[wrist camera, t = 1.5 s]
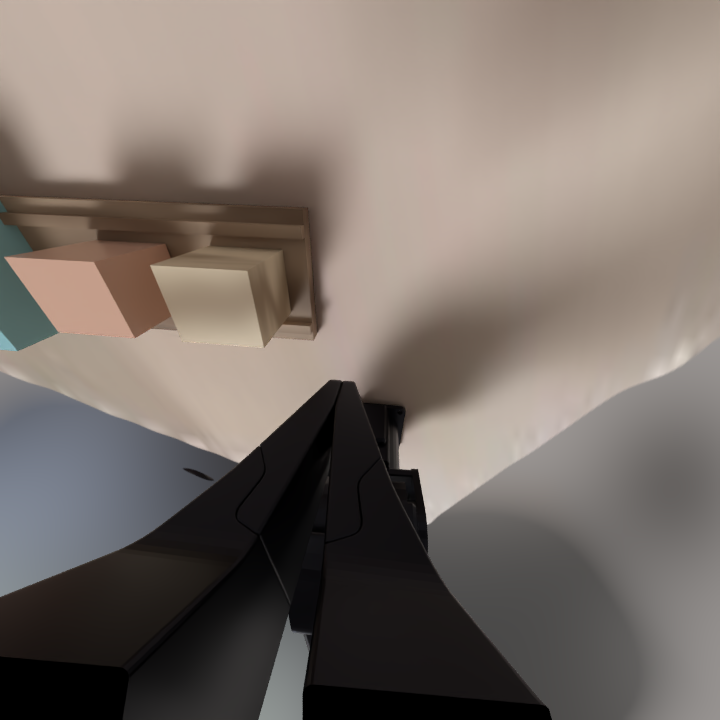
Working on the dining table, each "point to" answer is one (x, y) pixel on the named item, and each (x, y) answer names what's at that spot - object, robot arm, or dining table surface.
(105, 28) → the dining table surface
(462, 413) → the dining table surface
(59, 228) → the channel
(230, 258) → the beige slanted block
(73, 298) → the block
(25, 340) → the teal end stop
